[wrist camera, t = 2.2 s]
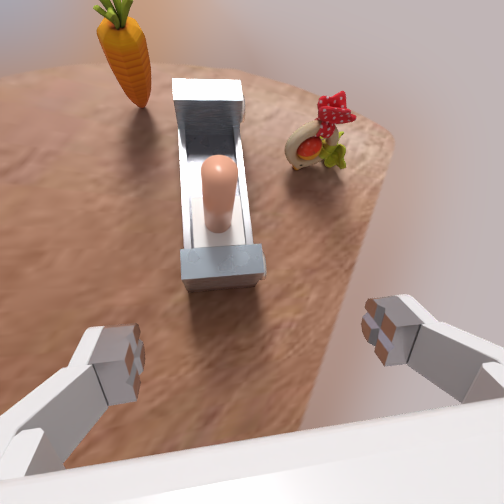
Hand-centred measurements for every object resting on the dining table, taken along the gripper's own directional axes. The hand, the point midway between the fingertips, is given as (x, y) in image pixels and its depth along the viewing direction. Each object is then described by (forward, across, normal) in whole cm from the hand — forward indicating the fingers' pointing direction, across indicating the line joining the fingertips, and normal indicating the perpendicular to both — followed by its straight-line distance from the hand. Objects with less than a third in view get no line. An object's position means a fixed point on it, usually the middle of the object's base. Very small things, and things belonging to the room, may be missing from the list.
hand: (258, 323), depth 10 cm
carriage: (+25, +1, +7) cm, 26 cm away
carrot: (+40, +10, -6) cm, 42 cm away
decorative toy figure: (+34, -14, +2) cm, 36 cm away
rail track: (+30, +1, +5) cm, 30 cm away
